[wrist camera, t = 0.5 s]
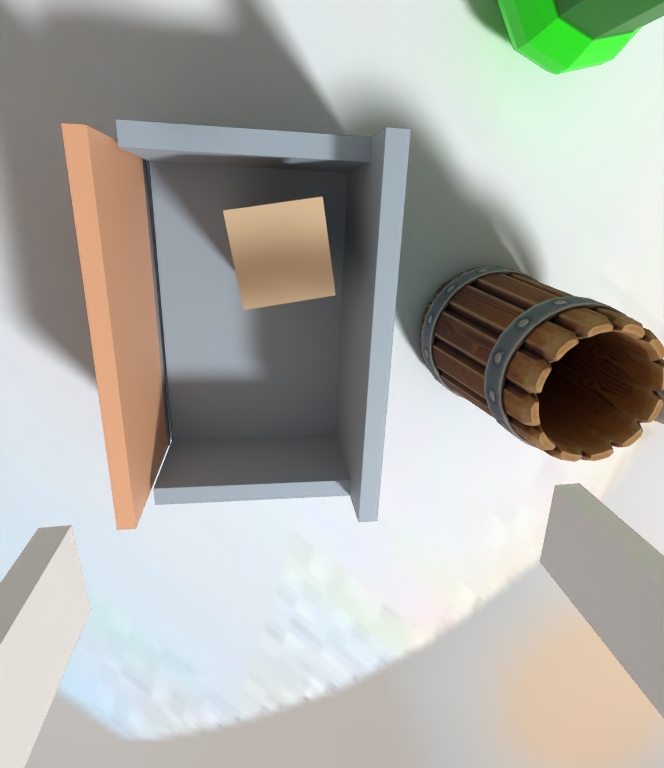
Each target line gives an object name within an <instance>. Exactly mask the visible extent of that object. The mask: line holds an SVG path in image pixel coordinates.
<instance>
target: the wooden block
mask: <svg viewBox="0 0 664 768" xmlns="http://www.w3.org/2000/svg"><path fill="white" fill-rule="evenodd" d="M223 213H224V218H225V223H226V228H227V233H228V238H229V243H230V247H231V252H232V257H233V262H234V267H235V272H236V277H237V282H238V287H239V291H240V296H241V301H242V306H243V310H248V309H254V308H260V307H266V306H273V305H279V304H285V303H291V302H297V301H304V300H310V299H316V298H322V297H328V296H335V295H336V294H335V287H334V279H333V271H332V264H331V256H330V248H329V241H328V233H327V225H326V218H325V210H324V203H323V197H315V198H308V199H301V200H294V201H287V202H280V203H273V204H266V205H259V206H252V207H245V208H238V209H231V210H224V211H223Z"/></svg>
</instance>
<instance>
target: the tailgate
mask: <svg viewBox="0 0 664 768" xmlns="http://www.w3.org/2000/svg"><path fill="white" fill-rule="evenodd" d="M61 126H62V134H63V141H64V148H65V155H66V163H67V170H68V177H69V184H70V192H71V199H72V206H73V213H74V221H75V228H76V235H77V242H78V250H79V257H80V264H81V271H82V278H83V286H84V293H85V300H86V307H87V315H88V322H89V329H90V336H91V344H92V351H93V358H94V365H95V373H96V380H97V387H98V394H99V402H100V409H101V416H102V423H103V431H104V438H105V445H106V452H107V460H108V467H109V474H110V481H111V489H112V496H113V503H114V510H115V518H116V525H117V530H121V529H136V527H137V524H138V522H139V519H140V517H141V514H142V511H143V509H144V506H145V504H146V501H147V499H148V496H149V494H150V491H151V489H152V486H153V483H154V481H155V478H156V476H157V473H158V471H159V468H160V466H161V463H162V461H163V458H164V455H165V453H166V450H167V448H168V446H169V445H170V433H169V421H168V410H167V398H166V386H165V375H164V363H163V351H162V340H161V328H160V316H159V305H158V293H157V281H156V270H155V258H154V246H153V235H152V223H151V211H150V200H149V188H148V176H147V165H146V160H145V159H143V158H141V157H139V156H137V155H135V154H132V153H130V152H128V151H126V150H124V149H122V148H120V147H118V141H117V140H115V139H113V138H111V137H109V136H107V135H105V134H103V133H102V132H100V131H98V130H96V129H94V128H92V127H90V126H88V125H83V124H68V123H61Z"/></svg>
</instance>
